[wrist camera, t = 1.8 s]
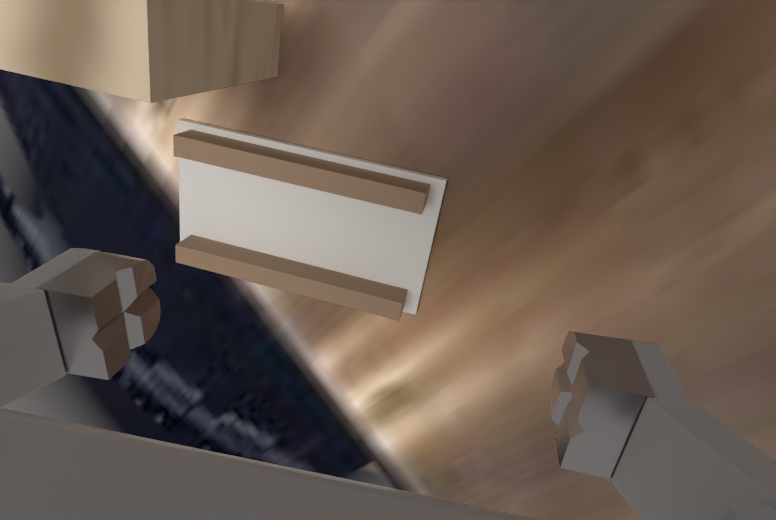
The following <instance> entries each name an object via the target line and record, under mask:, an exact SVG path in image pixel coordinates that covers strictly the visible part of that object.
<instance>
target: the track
mask: <svg viewBox="0 0 776 520" xmlns="http://www.w3.org/2000/svg"><path fill="white" fill-rule="evenodd" d="M178 128H179V133H178V134H175V135H173V136H174V156H176V157H179V198H180V242H179V243H178V244H176V262H177V263H181V264H185V265H189V266H193V267H196V268H200V269H204V270H208V271H212V272H216V273H219V274H223V275H227V276H231V277H235V278H238V279H242V280H246V281H250V282H254V283H257V284H261V285H265V286H269V287H273V288H277V289H280V290H284V291H288V292H292V293H296V294H299V295H303V296H307V297H311V298H315V299H318V300H322V301H326V302H330V303H334V304H338V305H341V306H345V307H349V308H353V309H357V310H360V311H364V312H368V313H372V314H376V315H380V316H383V317H387V318H391V319H395V320H399V319H400V317H401V314H402V311H403V312H407V313H411V314H415V315H416V312H417V307H418V303H419V299H420V294H421V290H422V286H423V281H424V277H425V273H426V268H427V264H428V260H429V255H430V251H431V247H432V242H433V238H434V234H435V229H436V225H437V221H438V216H439V212H440V208H441V203H442V199H443V194H444V190H445V186H446V181H447V178H443V177H439V176H435V175H430V174H426V173H421V172H417V171H413V170H408V169H404V168H399V167H395V166H390V165H386V164H382V163H377V162H373V161H368V160H364V159H360V158H355V157H351V156H346V155H342V154H338V153H333V152H329V151H324V150H320V149H316V148H311V147H307V146H302V145H298V144H293V143H289V142H285V141H280V140H276V139H271V138H267V137H263V136H258V135H254V134H249V133H245V132H241V131H236V130H232V129H227V128H223V127H219V126H214V125H210V124H205V123H201V122H196V121H192V120H188V119H179V120H178Z"/></svg>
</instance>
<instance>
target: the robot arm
mask: <svg viewBox="0 0 776 520" xmlns="http://www.w3.org/2000/svg"><path fill="white" fill-rule="evenodd" d="M155 282H156V276H155V270H154V266H153V265H152V264H151V263H150V262H149V261H148V260H144V259H138V258H133V257H128V256H122V255H117V254H112V253H106V252H100V251H97V250H90V249H83V248H71V249H69V250H68V251H66V252H64V253H62V254H61V255H59V256H57V257H56V258H54V259H52V260H51V261H49V262H47V263H45V264H44V265H42V266H40V267H39V268H37V269H35V270H34V271H32V272H30V273H28V274H27V275H25V276H23V277H22V278H20V279H18V280H16V281H15V282H13V283H11V284H6V283H0V407H2V406H4V405H6V404H8V403H10V402H12V401H14V400H16V399H18V398H20V397H23V396H24V395H27V394H29V393H31V392H33V391H35V390H37V389H39V388H41V387H43V386H45V385H47V384H49V383H51V382H53V381H55V380H57V379H59V378H61V377H63V376H65V375H66V373H70V374H76V375H82V376H88V377H94V378H100V379H106V380H109V379H110V378H111V377H112V376H113V375H114V374H115V373H116V372H117V371H118V370H119V369H120V368H121V367H122V366H123V365H124V364H125V363H126V362H127V361H128V360H129V359H130V358H131V350H130V349H133V348H135V347H138V346H140V345H143V344H145V343H146V342H147V341H148V340H149V339H150V338H151V337H152V336H153V334H154V332H155V330H156V328H157V325H158V323H159V319H160V302H159V299H158V297H157V296H156V295H155V294H154V292H153V291H152V290H151V287H152V286H153V285H154V283H155ZM562 352H563V357H564V362H565V363H564V364H562V365H561V366H559V367H558V368H556V370H555V374H554V378H553V381H552V386H551V394H550V410H551V417H552V420H553V421H554V422H555V423H556V424H557V425H558V426H559V427H558V430H557V433H556V436H555V441H556V447H557V453H558V458H559V464H560V468H563V469H568V470H572V471H577V472H581V473H586V474H590V475H595V476H599V477H604V478H608V479H612V480H611V482H612V484H613V485H614V486H615V487H616V489H617V490H618V491H619V492H620V494H621V495H622V496H623V497H624V499H625V500H626V501H627V503H628V504H629V505H630V506H631V508H632V509H633V510H634V511H635V513H636V514H637V515H638V516H639V518H640V519H641V520H776V461H775V460H773V459H772V458H771V457H769V456H768V455H767V454H765V453H764V452H762V451H761V450H760V449H758V448H757V447H756V446H754V445H753V444H752V443H750V442H749V441H747V440H746V439H745V438H743V437H742V436H741V435H739V434H738V433H737V432H735V431H734V430H732V429H731V428H730V427H728V426H727V425H726V424H724V423H723V422H721V421H720V420H719V419H717V418H716V417H715V416H713V415H712V414H711V413H709V412H708V411H706V410H705V409H704V408H702V407H701V406H695V405H691V403H690V401H689V399H688V397H687V395H686V393H685V391H684V390H683V388H682V386H681V384H680V382H679V380H678V378H677V376H676V374H675V373H674V371H673V369H672V367H671V365H670V363H669V361H668V359H667V357H666V356H665V354H664V352H663V350H662V348H661V347H660V346H659V345H658V344H656V343H651V342H643V341H636V340H628V339H620V338H613V337H606V336H599V335H592V334H585V333H577V332H570V331H569V333H568V335H567V337H566V339H565V342H564V345H563V348H562ZM0 520H542V519H537V518H532V517H528V516H523V515H518V514H513V513H508V512H503V511H499V510H494V509H489V508H484V507H479V506H474V505H470V504H465V503H460V502H455V501H450V500H446V499H441V498H436V497H431V496H426V495H421V494H417V493H412V492H407V491H402V490H397V489H392V488H388V487H383V486H378V485H373V484H368V483H363V482H358V481H353V480H349V479H344V478H339V477H334V476H330V475H325V474H320V473H315V472H310V471H305V470H300V469H295V468H290V467H286V466H281V465H276V464H271V463H266V462H261V461H256V460H251V459H246V458H242V457H237V456H232V455H227V454H222V453H217V452H212V451H207V450H202V449H197V448H193V447H188V446H183V445H178V444H173V443H168V442H163V441H158V440H153V439H149V438H144V437H139V436H134V435H129V434H124V433H119V432H115V431H110V430H105V429H100V428H95V427H91V426H86V425H81V424H76V423H70V422H66V421H61V420H56V419H52V418H47V417H42V416H37V415H32V414H28V413H23V412H18V411H13V410H8V409H3V408H0Z"/></svg>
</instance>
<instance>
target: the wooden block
mask: <svg viewBox="0 0 776 520" xmlns="http://www.w3.org/2000/svg"><path fill="white" fill-rule="evenodd" d="M282 7H283V4H277V3H272V2H267V1H262V0H0V69H2V70H6V71H11V72H15V73H20V74H24V75H28V76H33V77H37V78H42V79H46V80H51V81H55V82H60V83H64V84H68V85H73V86H77V87H82V88H86V89H91V90H95V91H100V92H104V93H108V94H113V95H117V96H122V97H126V98H131V99H135V100H140V101H144V102H149V103H153V102H158V101H163V100H167V99H172V98H177V97H182V96H187V95H192V94H197V93H201V92H206V91H211V90H216V89H221V88H226V87H231V86H236V85H240V84H245V83H250V82H255V81H260V80H265V79H270V78H274V77H278V65H279V51H280V36H281V22H282Z"/></svg>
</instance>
